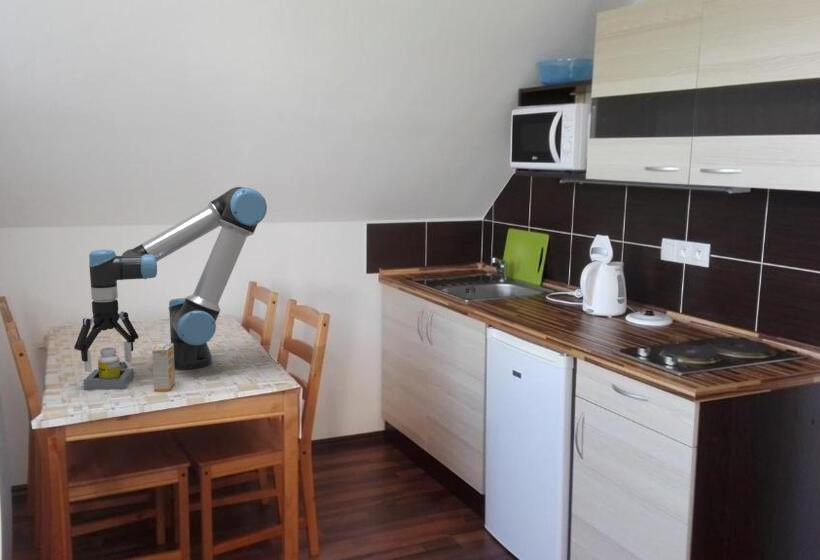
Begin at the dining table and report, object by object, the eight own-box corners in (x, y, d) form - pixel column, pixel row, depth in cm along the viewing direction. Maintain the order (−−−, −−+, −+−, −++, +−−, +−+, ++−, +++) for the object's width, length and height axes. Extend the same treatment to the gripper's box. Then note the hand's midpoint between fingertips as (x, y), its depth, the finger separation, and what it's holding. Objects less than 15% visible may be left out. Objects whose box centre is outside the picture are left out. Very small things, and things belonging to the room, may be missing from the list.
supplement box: (169, 391, 228) (167, 349, 225) (153, 391, 227) (151, 349, 225) (176, 383, 236) (174, 342, 234) (160, 383, 235) (158, 343, 233)
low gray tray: (125, 389, 230) (124, 379, 229) (84, 391, 228) (83, 380, 228) (141, 370, 251) (140, 360, 251) (103, 371, 250) (103, 361, 249)
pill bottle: (96, 382, 236) (94, 348, 234) (116, 379, 239) (114, 345, 238) (103, 387, 231) (101, 352, 229) (123, 383, 235) (121, 349, 233)
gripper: (134, 293, 243) (137, 356, 246) (59, 304, 223) (64, 372, 227) (147, 295, 238) (150, 360, 242) (72, 307, 219) (76, 377, 222)
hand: (108, 366), depth 234 cm, fingers open, 13 cm apart
